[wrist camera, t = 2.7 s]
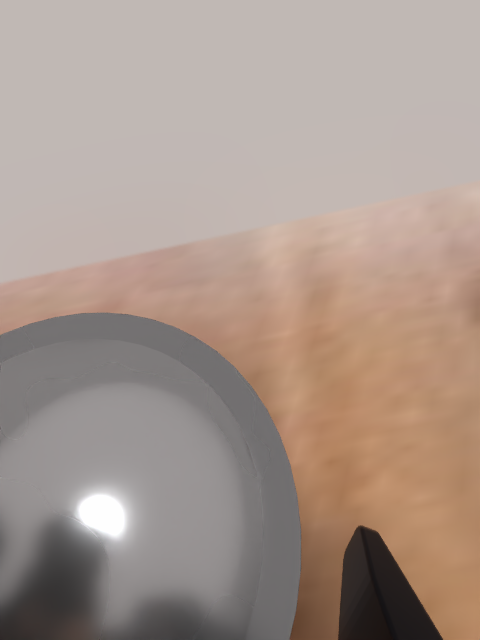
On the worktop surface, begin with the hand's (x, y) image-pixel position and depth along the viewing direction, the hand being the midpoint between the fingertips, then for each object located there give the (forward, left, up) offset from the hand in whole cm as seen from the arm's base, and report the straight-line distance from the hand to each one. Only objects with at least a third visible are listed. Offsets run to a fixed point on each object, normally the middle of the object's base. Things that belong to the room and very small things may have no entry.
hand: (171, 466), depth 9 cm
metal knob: (-1, +1, -7) cm, 7 cm away
